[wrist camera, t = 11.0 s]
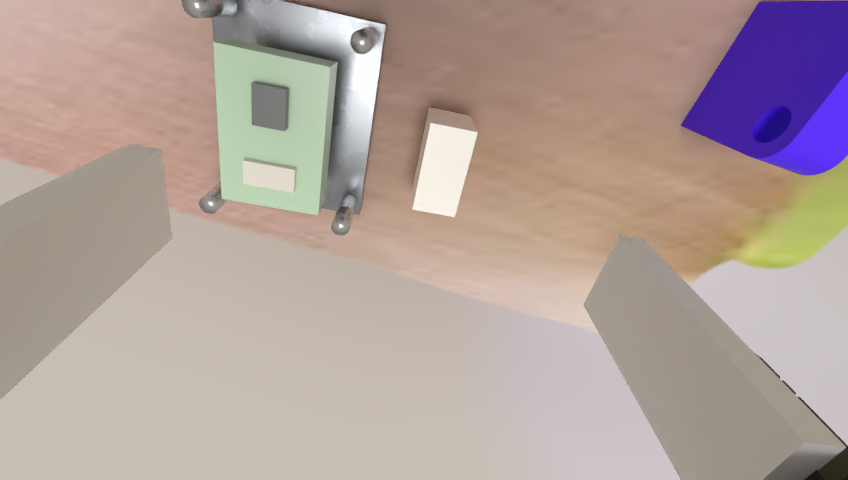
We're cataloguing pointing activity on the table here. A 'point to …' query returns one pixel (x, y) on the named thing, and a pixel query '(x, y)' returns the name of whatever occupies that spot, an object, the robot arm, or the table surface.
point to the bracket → (782, 88)
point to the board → (273, 125)
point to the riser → (443, 161)
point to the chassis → (354, 91)
